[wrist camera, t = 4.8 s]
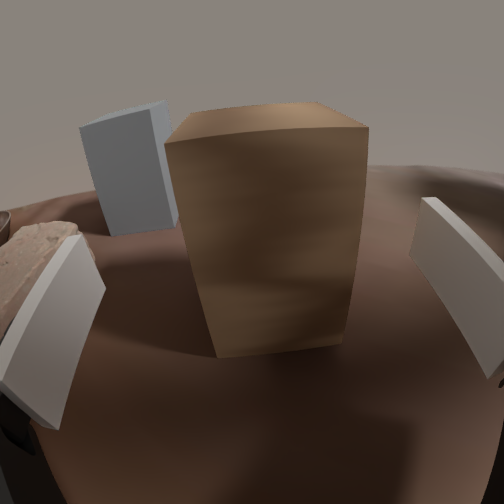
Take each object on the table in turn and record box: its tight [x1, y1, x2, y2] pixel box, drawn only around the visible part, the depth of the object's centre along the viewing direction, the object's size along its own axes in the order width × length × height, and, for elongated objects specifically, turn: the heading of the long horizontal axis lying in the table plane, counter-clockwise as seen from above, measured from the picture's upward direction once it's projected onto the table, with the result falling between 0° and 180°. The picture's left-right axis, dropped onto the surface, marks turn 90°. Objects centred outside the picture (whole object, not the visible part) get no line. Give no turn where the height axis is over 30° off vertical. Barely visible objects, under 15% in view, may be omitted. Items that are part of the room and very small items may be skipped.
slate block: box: [79, 100, 179, 237], centre depth 24 cm, size 6×6×10 cm
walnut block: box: [164, 102, 369, 358], centre depth 13 cm, size 6×6×10 cm
